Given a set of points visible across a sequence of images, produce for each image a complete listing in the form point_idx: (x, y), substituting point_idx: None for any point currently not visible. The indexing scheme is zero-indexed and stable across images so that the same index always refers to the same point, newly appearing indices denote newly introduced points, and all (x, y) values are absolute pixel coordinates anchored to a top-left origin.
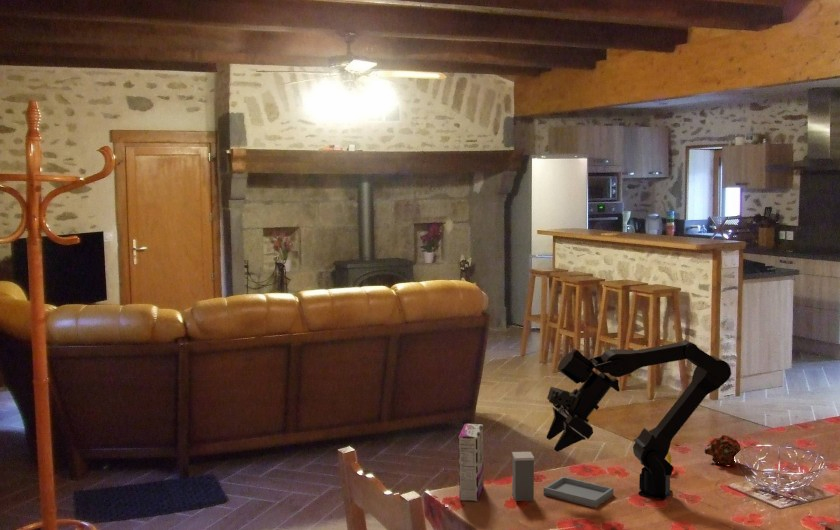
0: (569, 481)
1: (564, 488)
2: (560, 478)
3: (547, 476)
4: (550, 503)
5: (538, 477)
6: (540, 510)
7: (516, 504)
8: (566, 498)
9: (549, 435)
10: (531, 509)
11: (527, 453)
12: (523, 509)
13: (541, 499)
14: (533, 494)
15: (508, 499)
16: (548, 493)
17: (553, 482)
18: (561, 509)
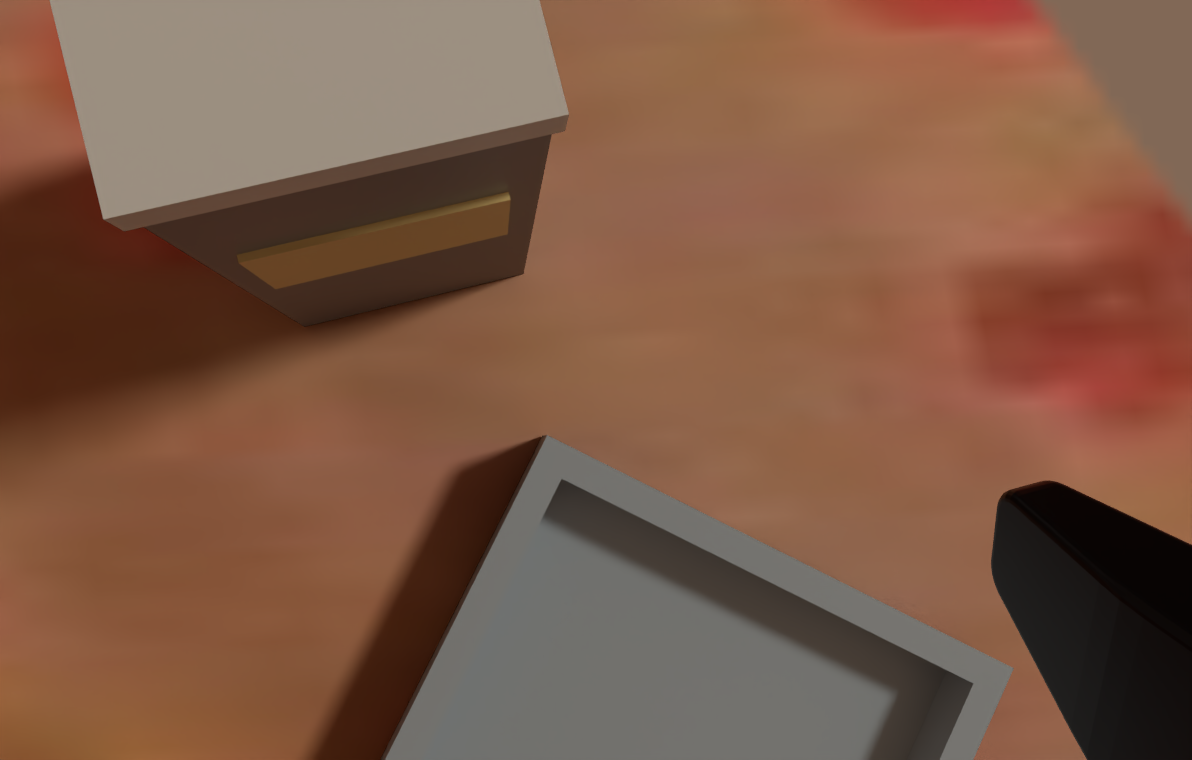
0: (926, 748)
1: (725, 688)
2: (928, 637)
3: (1162, 446)
4: (273, 533)
5: (1107, 340)
6: (22, 425)
7: None
8: (395, 731)
9: (1062, 593)
10: (37, 315)
11: (406, 43)
12: (22, 220)
13: (386, 416)
14: (285, 314)
15: None
16: (514, 496)
17: (762, 553)
18: (96, 678)
